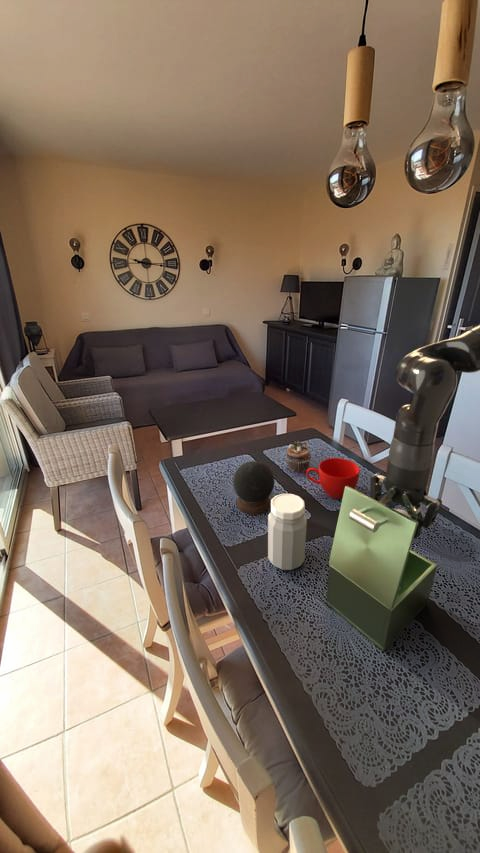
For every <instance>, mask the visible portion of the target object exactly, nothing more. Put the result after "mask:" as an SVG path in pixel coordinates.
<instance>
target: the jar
mask: <svg viewBox="0 0 480 853" xmlns="http://www.w3.org/2000/svg"><path fill="white" fill-rule="evenodd" d="M270 500H271V507H270V512H269V514H268V516H267V559H268V561H270V563H271V564H272V565H273V566H274V567H275V568H278V569H280V570H281V571H292V570H295V569H298V568H300V567H301V566H302V564H303V563H304V561H305V559H306V542H307V524H308V522H307V521H308V520H307V515H306V513H305V508H306V506H305V505H306V504H305V500H304V499H303V498H301V496H300V495H296V494H293V493H280V494H277V495H275V496H274V497H273V498H272V499H270Z"/></svg>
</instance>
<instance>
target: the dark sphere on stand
mask: <svg viewBox="0 0 480 853" xmlns="http://www.w3.org/2000/svg"><path fill="white" fill-rule="evenodd" d="M232 486H233V490H234V492H235V494H236V495H237V499H236V508H237V509H238V510H239V511H240V512H242V513H244V514H247V515H260V514H264V513H266V512H268V511H269V510H270V509H271V500H272V499H271V498H270V496H271V495H272V493H273V490H274V487H275V477H274V474H273V472H272V470H271V469H270V467H269V466H267V464H265V463H263V462H261V461H256V460H250V461H247V462H244V463H242V464H240V465H239V467H238V468H237V469H236V470H235V472H234V474H233V478H232Z"/></svg>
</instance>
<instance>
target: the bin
mask: <svg viewBox="0 0 480 853" xmlns="http://www.w3.org/2000/svg"><path fill="white" fill-rule="evenodd" d="M437 568H438V564H437V563H435V562H434V561H432V560H429V559H428V558H426V557H425V556H422V555H421V554H419V553H418V552H416V551H414V550H412V549H410V552H409V556H408V559H407V563H406V566H405V569H404V573H403V576H402V579H401V583H400V586H399V590H398V593H397V596H396V600H395V603H394V607H393V608H392V609H389V608H388V607H387V606H385V605H384V604H383V603H381V602H380V601H378V600H377V599H376V598H374V597H373V596H372V595H370V594H369V593H368V592H366V591H365V590H363V589H362V588H361V587H359V586H358V585H357V584H355V583H354V582H353V581H351V580H350V579H349V578H347V577H346V576H344V575H343V574H342V573H340V572H339V571H338V570H336V569H335V568H334V567H332V566H331V565H329V566H328V577H327V587H326V598H325V605H327V606H328V607H329V608H330V609H331V610H333V611H334V612H335V613H336V614H338V615H339V616H340V617H341V618H342V619H343V620H344V621H346V622H347V623H348V624H349V625H351V627H353V628H354V629H355V630H357V632H359V633H360V634H361V635H362V636H364V638H366V639H367V640H368V641H370V642H371V643H372V644H373V646H374V645H375V646H376V647H377V648H378V649H379V650H380V651H381V652H382V653H383V652H385V651H386V650H387V649H388V647H390V646H391V644H392V643H393V642H394V641H395V640H396V639H397V638H398V637H399V636H400V634H402V633H403V631H404V630H405V629H406V628H407V627H408V626H409V625H410V624H411V622H412V621H414V620H415V619H416V618H417V617H418V615H419V614H421V612H422V611H423V610H424V609H425V607H427V606H428V603H429V599H430V595H431V593H432V588H433V584H434V580H435V576H436V573H437Z"/></svg>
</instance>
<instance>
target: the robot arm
mask: <svg viewBox="0 0 480 853" xmlns="http://www.w3.org/2000/svg"><path fill="white" fill-rule="evenodd" d="M477 372H480V323H479V324H477V325H475V326H474V327H471V328H470V329H467V330H466V331H464V332H462V333H461V334H459V335H457V336H454V337H450V338H447V339H443V340H440V341H437V342H434V343H431V344H427V345H425V346H422V347H420V348H417V349H415V350H413V351H412V352H409V353H408V354H406V355H405V356H404V357H403V358H402V359H401V360H400V361H399V363H398V364H397V366H396V369H395V378H396V381H397V383H398V384H399V385H400V386H401V387H402V388H403V389H405V390H407V391H409V392H410V393H412V394H413V395H412V400H411V403H408V404H404V405H402V406H401V407H400V408H399V409H398V411H397V413H396V417H395V422H394V428H393V436H392V438H391V441H390V446H389V450H388V459H387V464H386V471H385V476H384V475H383V474H382V473H381V472H377V473H375V474H373V475H372V476H370V481H369V482H370V484H369V486H370V487H369V488H370V493H369V495H370V496H369V497H370V498H372V499H374V500H376V501H378V502H380V503H382V504H384V505H386V506H388V507H390V505H389V503H390V502H393V503H395V504H399V505H400V506H401V507H403V508H405V509H406V512H407V513H408V515H410V517H411V519H413V520H415V521H417V522H418V525H417V529H416V532H415V536H414V539H417V538H418V537H419V536H420V535H421V533H422V529H428V528H429V527H431V526H432V525H433V524H435V521H436V519H437V517H438V514H439V512H440V509H441V507H442V504H443V501H442V499H440V498H436V499H435V498H433V497H431V496H429V495H428V492H427V486H428V482H429V478H430V473H431V469H432V464H433V459H434V454H435V442H436V437H437V433H438V427H439V422H440V420H441V418H442V417H443V415H444V414H445V412H446V410H447V408H448V406H449V404H450V402H451V400H452V399H453V397H454V395H455V392H456V390H457V387H458V373H464V374H465V373H466V374H472V373H473V374H475V373H477ZM383 485H384V488H385V490H386V492H387V493H385V494H384V495H383V496H382V494H383ZM422 502H424V503H425V509H426V512H425V515H424V512H423V509H424V508H423V504H422Z"/></svg>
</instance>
